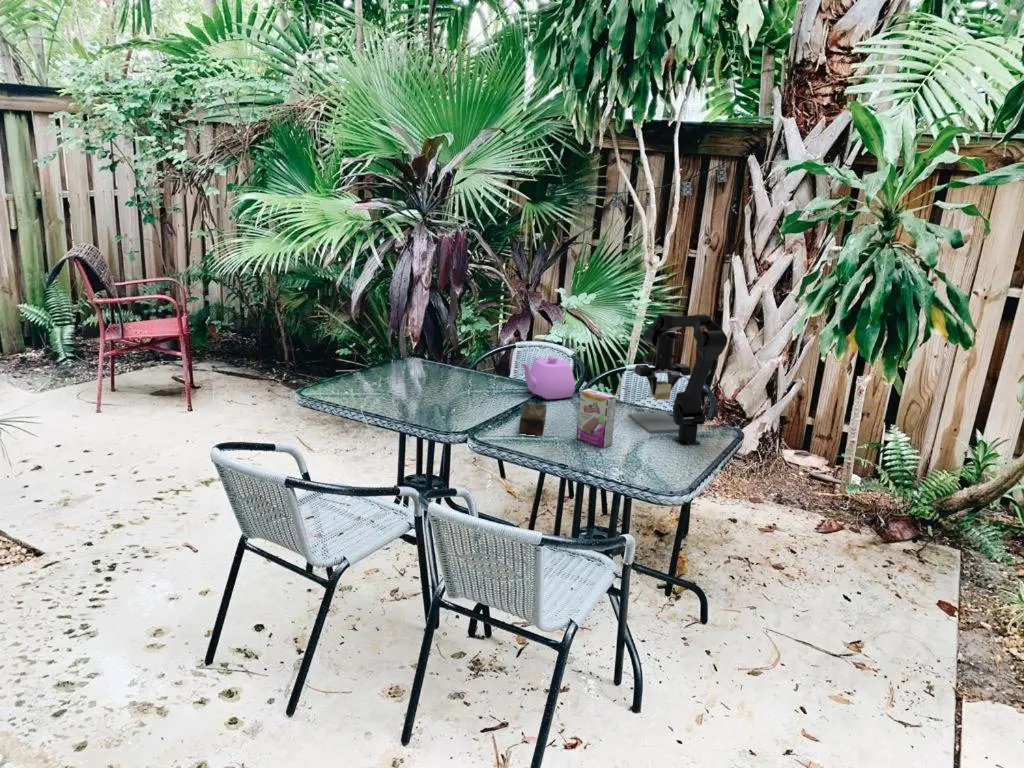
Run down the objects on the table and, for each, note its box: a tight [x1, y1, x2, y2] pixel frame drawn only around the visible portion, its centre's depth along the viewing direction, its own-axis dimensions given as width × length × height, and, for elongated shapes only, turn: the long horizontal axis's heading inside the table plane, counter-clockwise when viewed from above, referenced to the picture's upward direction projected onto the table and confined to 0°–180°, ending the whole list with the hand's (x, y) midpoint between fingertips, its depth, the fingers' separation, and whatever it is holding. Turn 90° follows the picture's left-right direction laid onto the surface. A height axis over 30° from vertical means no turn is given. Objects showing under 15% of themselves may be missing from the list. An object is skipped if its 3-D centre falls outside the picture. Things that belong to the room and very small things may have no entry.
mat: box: [628, 411, 679, 434], centre depth 263 cm, size 18×14×1 cm
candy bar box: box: [575, 388, 617, 449], centre depth 239 cm, size 11×5×16 cm, turn 47°
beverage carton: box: [518, 401, 547, 437], centre depth 252 cm, size 8×19×7 cm, turn 174°
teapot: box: [519, 355, 576, 400], centre depth 288 cm, size 23×21×15 cm
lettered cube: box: [649, 380, 672, 401], centre depth 259 cm, size 5×5×5 cm
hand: (660, 394), depth 260 cm, fingers closed on lettered cube, 5 cm apart
